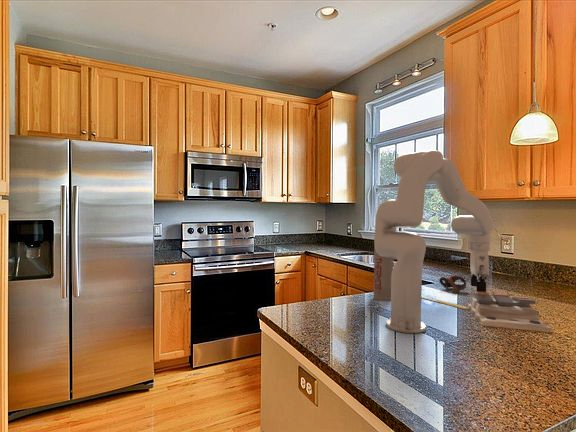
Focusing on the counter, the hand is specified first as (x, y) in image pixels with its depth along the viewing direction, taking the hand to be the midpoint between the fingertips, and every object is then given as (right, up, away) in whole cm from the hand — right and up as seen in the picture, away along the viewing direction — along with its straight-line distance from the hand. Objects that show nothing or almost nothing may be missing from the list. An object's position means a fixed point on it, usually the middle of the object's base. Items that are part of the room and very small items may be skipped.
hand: (478, 289), depth 135 cm
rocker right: (+10, -2, -12) cm, 15 cm away
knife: (-13, -8, +12) cm, 19 cm away
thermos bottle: (-34, -7, +13) cm, 38 cm away
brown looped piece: (+4, -7, +30) cm, 31 cm away
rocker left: (-3, -1, -8) cm, 9 cm away
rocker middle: (+4, -2, -10) cm, 11 cm away
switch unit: (+3, -8, -13) cm, 15 cm away
